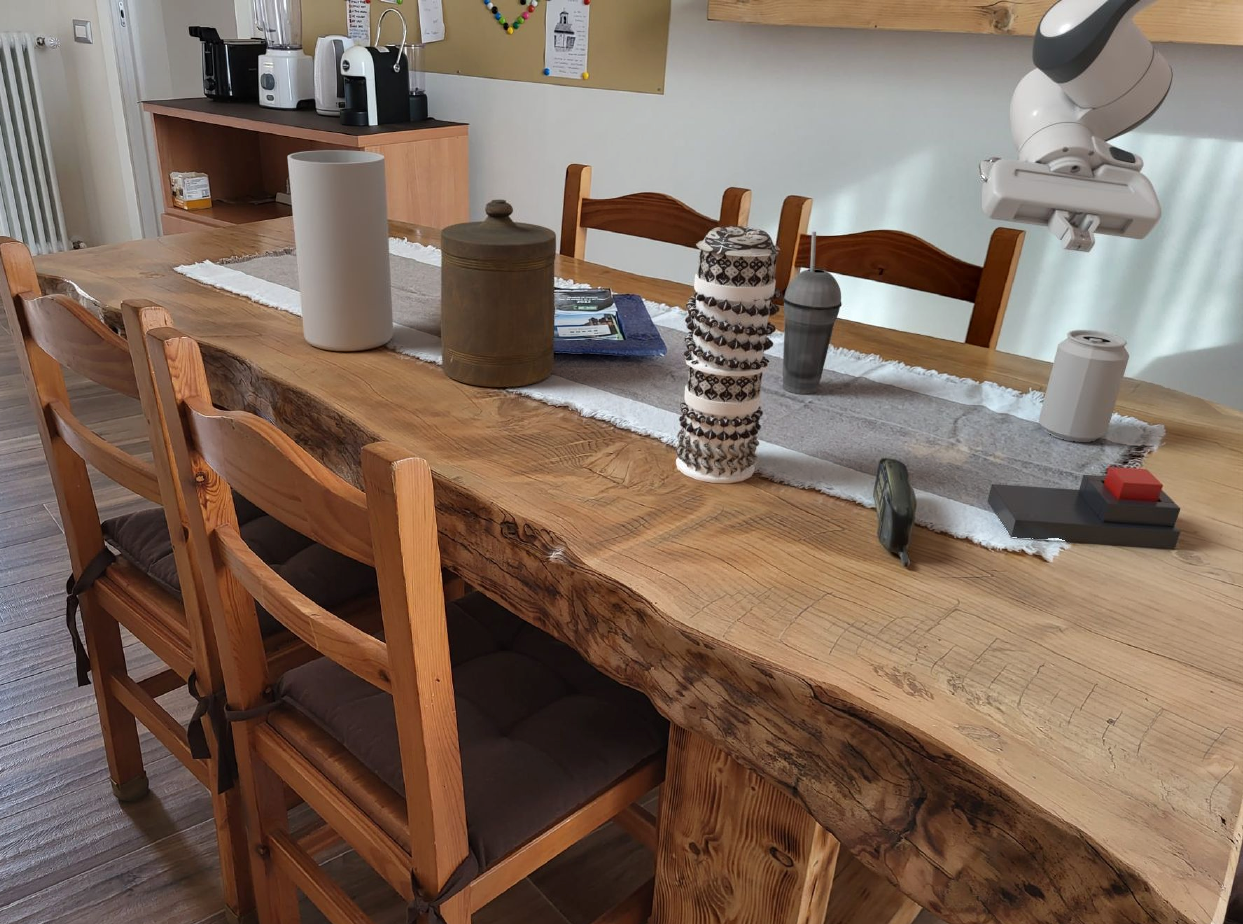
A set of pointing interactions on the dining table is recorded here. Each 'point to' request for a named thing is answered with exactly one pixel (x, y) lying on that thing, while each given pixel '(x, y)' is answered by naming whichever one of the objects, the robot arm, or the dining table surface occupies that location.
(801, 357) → the beverage cup
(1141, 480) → the red rectangular button
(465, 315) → the wooden container
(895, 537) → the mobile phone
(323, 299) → the cylinder vase
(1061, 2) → the robot arm
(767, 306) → the decorative candle
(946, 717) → the dining table surface
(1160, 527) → the dark grey stepped block
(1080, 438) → the can
